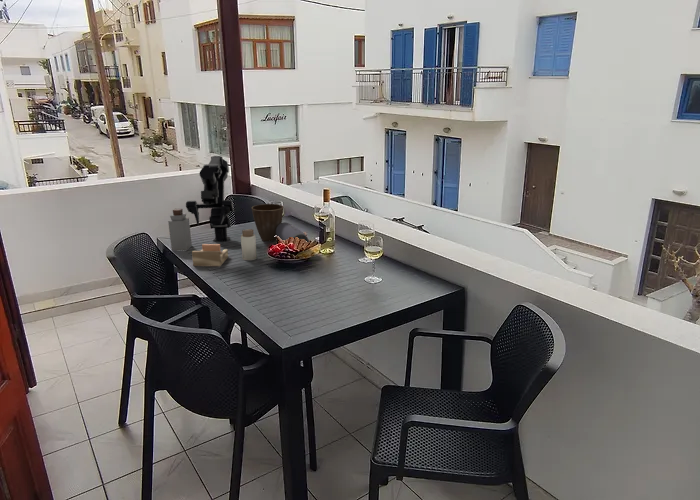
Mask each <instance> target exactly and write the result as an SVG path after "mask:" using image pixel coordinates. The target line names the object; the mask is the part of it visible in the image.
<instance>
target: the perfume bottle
mask: <svg viewBox="0 0 700 500" xmlns="http://www.w3.org/2000/svg"><path fill="white" fill-rule="evenodd" d="M183 209H184V208H174V209H172V214H170V215H169V218H170V219H169V220H168V221H167V222H168V230H169V239H170V248H171V251H177V250H180V251H181V250H182V251H183V250H184V251H188V250H189V249H191V248H192V247H193V246H192V245H193V243H192V242H193V241H192V236H191V225H190V224H191V223H190V217H187V212H183Z"/></svg>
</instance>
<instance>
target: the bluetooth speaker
mask: <svg viewBox="0 0 700 500" xmlns="http://www.w3.org/2000/svg"><path fill="white" fill-rule="evenodd" d="M276 235H277V236H279V237H280V238H281V239H282V240H286V239H288V238H289V237H293V238H295V237H298V238H299V239H305V240H306V241H307V242H309V243H310V240H309V238H308V236H307V235H306V234H305V233H304V232H303V231H302V230H301V229H299V228H298V227H297V226H295V225H292V224H291V223H289V222H286V221H285V222H284V221H282V223H280V224H279V225H278V226H277V228H276Z"/></svg>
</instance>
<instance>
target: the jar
mask: <svg viewBox="0 0 700 500" xmlns="http://www.w3.org/2000/svg"><path fill="white" fill-rule="evenodd" d="M241 233H242V234H241V235H240V242H241V243H240V244H241V255H242V256H241V259H242V260H243V261H254V260H256V259H258V256H257V255H258V254H257V242H256V241H257V239H256V234H255V233H254V229H251V228H246V229H242V231H241Z"/></svg>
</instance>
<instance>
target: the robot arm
mask: <svg viewBox="0 0 700 500" xmlns="http://www.w3.org/2000/svg"><path fill="white" fill-rule="evenodd" d="M229 172H230V167H229V163H228V161H227V160H225V159H224V158H223V156H221V155H213V156H211V157H210V161H209V163H206V164H204V165H203V166H202V167H201V169H200V171H199V172H198V173H199V174H198V175H199V177H200V179H201V180H200V181H201V182H202V184H203V190H201V191H200V198H201V199H200V200H201V202H202V203H198V202H197V200H187V201H186V203H185V207H186V209H187V211H188V213H190V214H192V215H194V218H195V222H196V224H197V226H199V225H200V212H199V209H211V210H210V216H209V218H208V219H209V225H210V226H209V227H210V229H214V230H213V231H214V239H212V241H213V242H227V241H229V239H230V238H231V237H230V236H228V229H230V228H231V226H232V225H231V219H230V217H229V215H228V214H230V213H231V212H234V203H233V201H232V199H225V181H226V180H227V179H228V177H229V175H228V174H229Z"/></svg>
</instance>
